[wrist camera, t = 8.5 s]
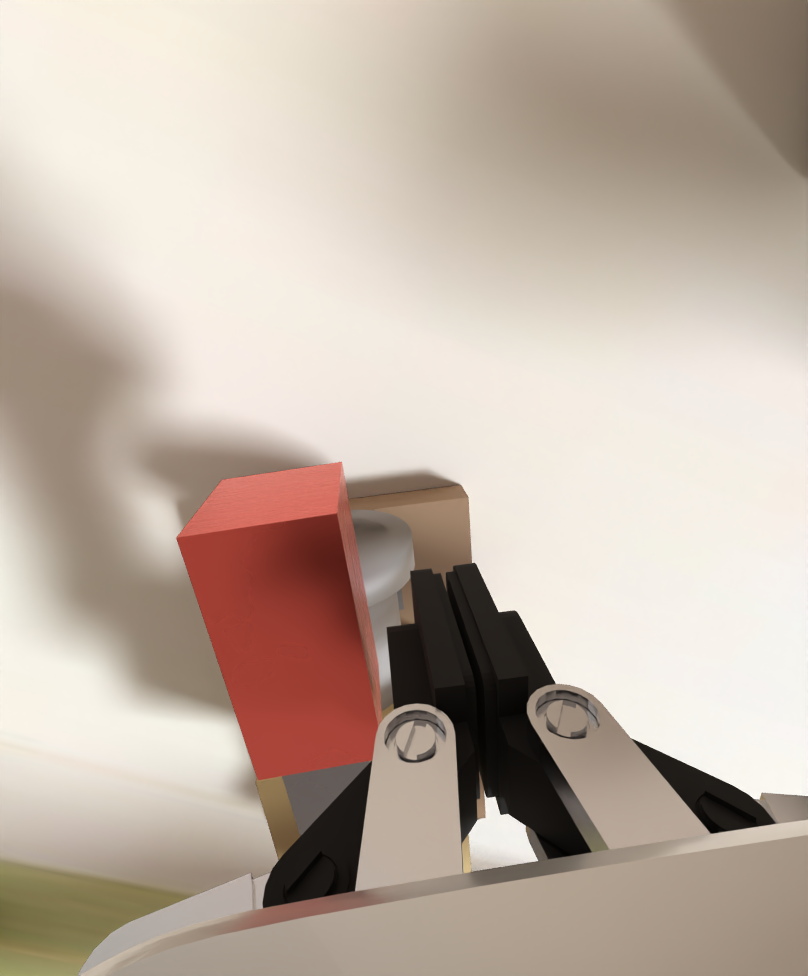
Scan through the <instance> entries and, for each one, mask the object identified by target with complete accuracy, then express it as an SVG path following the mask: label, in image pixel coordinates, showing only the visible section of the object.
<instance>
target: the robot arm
mask: <svg viewBox="0 0 808 976" xmlns="http://www.w3.org/2000/svg"><path fill="white" fill-rule="evenodd" d="M410 578H411V589H412V600H413V611H414V622H415V623H414V624H406V625H398V626H390V627H386V629H387V640H388V651H389V662H390V673H391V684H392V694H393V705H394V710H393V711H392V712H391V713H389V714H388V715H387V716H385V718H384V719H383V720H382V722H381V723H380V725H379V727H378V730H377V733H376V738H375V745H374V753H373V760H372V761H371V762H370V763H369V764H368V765H367V766H366V767H365V768H364V769H363V770H362V771H361V772H360V773H359V775H358V776H357V777H356V778H355V779H354V780H353V781H352V782H351V783H350V784H349V785H348V786H347V787H346V788H345V789H344V790H343V792H342V793H341V794H340V795H339V796H338V797H337V798H336V799H335V800H334V801H333V802H332V803H331V804H330V805H329V806H328V807H327V809H326V810H325V811H324V812H323V813H322V814H321V815H320V816H319V817H318V818H317V819H316V820H315V821H314V822H313V823H312V824H311V826H310V827H309V828H308V829H307V830H306V831H305V832H304V833H303V834H302V835H301V836H300V837H299V838H298V839H297V840H296V842H295V843H294V844H293V845H292V846H291V847H290V848H289V849H288V850H287V851H286V852H285V853H284V854H283V855H282V857H281V858H280V859H279V861H278V862H277V863H276V865H275V866H274V868H273V869H272V871H271V872H270V873H268V874H265V875H263V876H260V877H258V878H255V879H253V877H252V874H251V873H249V874H246V875H244V876H242V877H239V878H237V879H234V880H232V881H229V882H227V883H224V884H222V885H219V886H217V887H214V888H212V889H209V890H207V891H205V892H202V893H200V894H197V895H195V896H192V897H190V898H187V899H185V900H182V901H180V902H177V903H175V904H173V905H170V906H168V907H165V908H163V909H160V910H158V911H155V912H153V913H150V914H148V915H145V916H143V917H140V918H138V919H136V920H133V921H131V922H129V923H127V924H125V925H123V926H122V927H120V928H118V929H117V930H115V931H113V932H112V933H110V934H109V935H108V936H107V937H106V938H105V939H104V940H103V941H102V942H101V943H100V944H99V945H98V946H97V947H96V948H95V949H94V950H93V952H92V953H91V955H90V956H89V958H88V959H87V961H86V962H85V964H84V965H83V967H82V968H81V969H80V971H79V974H78V976H808V796H797V795H784V794H771V793H762V794H761V797H760V800H756V799H753V798H752V797H751V796H749V795H748V794H746V793H745V792H743V791H741V790H739V789H738V788H736V787H734V786H733V785H730V784H728V783H726V782H724V781H722V780H720V779H717V778H715V777H713V776H711V775H709V774H707V773H705V772H702V771H700V770H698V769H696V768H694V767H692V766H690V765H687V764H685V763H683V762H681V761H679V760H677V759H674V758H672V757H670V756H668V755H666V754H664V753H662V752H659V751H657V750H655V749H653V748H651V747H649V746H647V745H644V744H642V743H640V742H638V741H636V740H634V739H631V738H630V737H629V735H628V734H627V733H626V732H625V731H624V729H623V728H622V727H621V726H620V725H619V723H618V722H617V721H616V720H615V719H614V717H613V716H612V715H611V714H610V713H609V712H608V710H607V709H606V708H605V707H604V706H603V704H602V703H601V702H600V701H599V700H598V699H596V698H595V697H594V696H593V695H592V694H590V693H588V692H586V691H585V690H583V689H581V688H577V687H574V686H571V685H564V684H556V683H555V681H554V680H553V678H552V676H551V674H550V672H549V670H548V668H547V666H546V665H545V663H544V661H543V659H542V657H541V655H540V653H539V651H538V650H537V648H536V646H535V644H534V642H533V640H532V638H531V636H530V635H529V633H528V631H527V629H526V627H525V625H524V623H523V621H522V620H521V618H520V616H519V614H518V613H517V612H516V611H515V610H514V611H506V612H498V610H497V608H496V606H495V604H494V601H493V599H492V597H491V595H490V593H489V591H488V589H487V587H486V584H485V582H484V580H483V578H482V576H481V574H480V572H479V570H478V567H477V565H476V564H475V563H470V564H462V565H454V566H453V571H452V572H446V588H445V585H444V582H443V579H442V575H441V573H436V574H433V571H432V569H431V568H430V569H421V570H413V571H410ZM446 590H447V591H446ZM479 772H480V776H481V780H482V784H483V787H484V791H485V794H486V797H487V798H489V797H496V800H497V804H498V807H499V811H500V814H501V815H503V814H509V815H511V816H512V817H514V818H515V819H517V820H518V821H520V822H521V823H523V824H524V825H526V833H527V836H528V839H529V842H530V844H531V846H532V848H533V851H534V853H535V855H536V857H537V859H538V861H536V862H530V863H524V864H518V865H511V866H505V867H499V868H493V869H487V870H481V871H474V872H468V873H464V870H463V852H462V843H463V841H464V840H465V838H466V837H467V835H468V834H469V832H470V831H471V829H472V827H473V826H474V824H475V823H476V821H477V820H478V818H477V799H480V778H479Z"/></svg>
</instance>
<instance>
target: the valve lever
mask: <svg viewBox="0 0 808 976" xmlns="http://www.w3.org/2000/svg"><path fill="white" fill-rule="evenodd" d="M177 541H178V544H179V547H180V550H181V553H182V556H183V559H184V562H185V565H186V568H187V571H188V574H189V577H190V580H191V583H192V586H193V589H194V592H195V595H196V598H197V601H198V604H199V607H200V610H201V613H202V616H203V619H204V622H205V625H206V628H207V630H208V633H209V636H210V639H211V642H212V645H213V648H214V651H215V654H216V657H217V660H218V663H219V666H220V669H221V672H222V675H223V678H224V681H225V684H226V687H227V690H228V693H229V696H230V699H231V702H232V705H233V708H234V711H235V714H236V717H237V720H238V723H239V726H240V729H241V731H242V734H243V737H244V740H245V743H246V746H247V749H248V752H249V755H250V758H251V761H252V764H253V767H254V770H255V773H256V776H257V779H258V780H263V779H269V778H275V777H280V776H282V778H283V782H284V785H285V788H286V791H287V795H288V798H289V801H290V804H291V808H292V811H293V814H294V817H295V821H296V824H297V827H298V830H299V833H300V836H301V835H302V834H303V833H304V832H305V831H306V830H307V829H308V828H309V827H310V826H311V824H312V823H313V822H314V821H315V820H316V819H317V818H318V817H319V816H320V815H321V814H322V813H323V812H324V811H325V810H326V809H327V807H328V806H329V805H330V804H331V803H332V802H333V801H334V800H335V799H336V798H337V797H338V796H339V795H340V794H341V793H342V792H343V790H344V789H345V788H346V787H347V786H348V785H349V784H350V783H351V782H352V781H353V780H354V779H355V778H356V777H357V776H358V775H359V773H360V772H361V771H362V770H363V769H364V768H365V767H366V766H367V765H368V764H369V763H370V762H371V761H372V760H373V753H374V745H375V738H376V733H377V730H378V727H379V725H380V723H381V722H382V711H381V695H380V680H379V664H378V658H377V653H376V647H375V642H374V636H373V631H372V625H371V620H370V614H369V609H368V603H367V598H366V592H365V587H364V581H363V576H362V570H361V565H360V559H359V554H358V548H357V543H356V537H355V532H354V526H353V521H352V515H351V510H350V504H349V499H348V493H347V488H346V482H345V477H344V471H343V466H342V462H338V463H331V464H324V465H318V466H311V467H304V468H297V469H291V470H284V471H277V472H270V473H264V474H257V475H250V476H243V477H237V478H230V479H223V480H221V482H220V483H219V484H218V485H217V487H216V488H215V489H214V491H213V492H212V493H211V494H210V496H209V497H208V498H207V499H206V501H205V502H204V503H203V504H202V506H201V507H200V508H199V510H198V511H197V512H196V513H195V515H194V516H193V517H192V518H191V520H190V521H189V522H188V524H187V525H186V526H185V527H184V529H183V530H182V531H181V532H180V534H179V535H178V536H177Z"/></svg>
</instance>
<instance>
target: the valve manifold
mask: <svg viewBox="0 0 808 976" xmlns="http://www.w3.org/2000/svg"><path fill="white" fill-rule="evenodd" d="M349 504H350V510H351V515H352V521H353V526H354V532H355V537H356V543H357V548H358V554H359V559H360V565H361V570H362V576H363V581H364V587H365V592H366V598H367V603H368V609H369V614H370V620H371V625H372V631H373V636H374V642H375V647H376V653H377V658H378V664H379V680H380V695H381V711H382V720H383V719H384V718H385V716H387V715H388V714H389V713H391V712H392V711H393V710H394V705H393V694H392V684H391V673H390V662H389V651H388V640H387V629H386V627H390V626H398V625H406V624H414V623H415V622H414V611H413V600H412V589H411V578H410V571H413V570H421V569H430V568H431V569H432V571H433V574H436V573H441V575H442V579H443V582H444V585H445V588H446V572H452V571H453V566H454V565H462V564H470V563H472V556H471V538H470V519H469V500H468V496H467V494H466V492H465V491H464V489H463V487H462V486H461V485H456V486H448V487H441V488H433V489H425V490H417V491H409V492H401V493H393V494H385V495H378V496H370V497H362V498H354V499H349ZM446 591H447V590H446ZM479 778H480V799H477V818H478V819H481V818H485V799H484V787H483V784H482V780H481V776H480V772H479ZM256 786H257V789H258V793H259V796H260V799H261V803H262V806H263V809H264V813H265V816H266V819H267V823H268V826H269V829H270V833H271V836H272V839H273V842H274V846H275V849H276V852H277V856H278V859H280V858H281V857H282V855H283V854H284V853H285V852H286V851H287V850H288V849H289V848H290V847H291V846H292V845H293V844H294V843H295V842H296V840H297V839H298V838H299V837H300V833H299V830H298V827H297V824H296V821H295V817H294V814H293V811H292V808H291V804H290V801H289V798H288V795H287V791H286V788H285V785H284V782H283V778H282V776H280V777H275V778H269V779H263V780H258V779H256ZM462 852H463V870H464V873H468V872H471V863H470V849H469V836H468V835H467V837H466V838H465V840H464V841H463V843H462Z"/></svg>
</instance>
